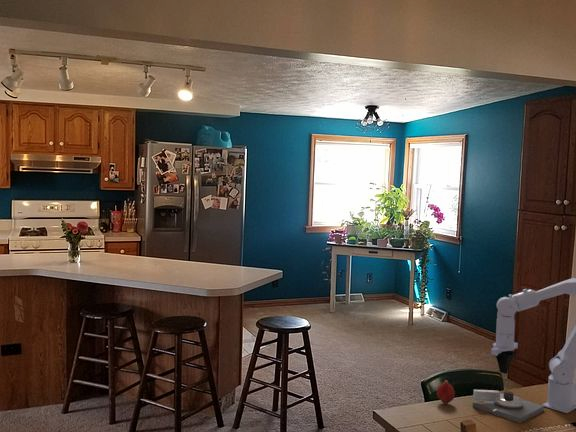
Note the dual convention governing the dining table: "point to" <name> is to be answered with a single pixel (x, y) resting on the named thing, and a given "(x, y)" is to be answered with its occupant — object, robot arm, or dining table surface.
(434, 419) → the dining table surface
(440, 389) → the onion
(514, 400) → the dial
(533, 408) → the dial plate
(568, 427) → the dining table surface
